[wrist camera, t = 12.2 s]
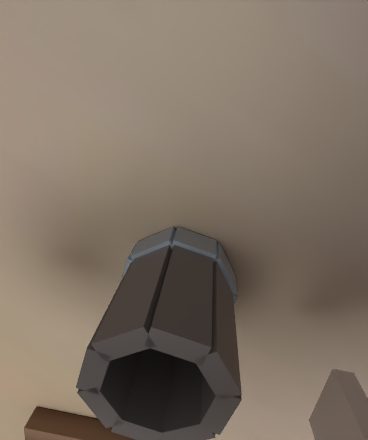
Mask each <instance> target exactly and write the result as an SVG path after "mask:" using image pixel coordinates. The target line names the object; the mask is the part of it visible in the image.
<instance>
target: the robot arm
mask: <svg viewBox="0 0 368 440" xmlns="http://www.w3.org/2000/svg"><path fill="white" fill-rule="evenodd" d="M309 422H310V425H311V428H312V431H313V434H314V437H315V440H368V398H367V397H366V395H365V393H364V391H363V389H362V387H361V385H360V383H359V382H358V380H357V378H356V376H355V374H354V373H352V372H347V371H341V370H335V369H333V370H332V372H331V374H330V376H329V378H328V380H327V382H326V385H325V387H324V389H323V391H322V393H321V395H320V397H319V400H318V402H317V404H316V406H315V408H314V410H313V413H312V415H311V417H310V419H309Z"/></svg>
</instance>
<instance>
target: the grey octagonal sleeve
mask: <svg viewBox="0 0 368 440" xmlns="http://www.w3.org/2000/svg"><path fill="white" fill-rule="evenodd" d="M236 299H237V285H236V275H235V273H234V271H233V269H232V267H231V265H230V263H229V261H228V259H227V257H226V255H225V253H224V251H223V249H222V247H221V245H220V243H217V240H215V239H212V238H209V237H206V236H203V235H201V234H198V233H195V232H192V231H189V230H186V229H184V228H181V227H177V230H175V228H174V227H171V228H169V229H166V230H164V231H162V232H159V233H157V234H155V235H152V236H150V237H147V238H145V239H143V240H140V241H138V243H137V244H136V245H135V246H134V248H133V250H132V252H131V254H130V256H129V257H128V260H127V263H126V266H125V269H124V273H123V276H122V279H121V283H120V285H119V287H118V289H117V291H116V293H115V294H114V296H113V298H112V300H111V302H110V304H109V306H108V308H107V310H106V312H105V314H104V316H103V318H102V320H101V322H100V324H99V326H98V328H97V330H96V332H95V334H94V335H93V337H92V339H91V341H90V343H89V345H88V347H87V350H86V353H85V357H84V360H83V364H82V368H81V371H80V375H79V378H78V382H77V385H76V388H78V389H79V390H78V392H77V393H78V394H79V395H80V397H81V398H82V399H83V400H84V402H85V403H86V404H87V405H88V407H89V408H90V409H91V410H92V412H93V413H94V414H95V415H96V417H97V418H98V419H99V420H100V422H101V423H102V424H103V425H104V427H105V428H109V427H112V430H111V432H114V433H117V434H120V435H123V436H126V437H129V438H132V439H135V440H207V439H211V438H215V433H216V434H219V435H220V434H221V432H222V431H223V429H224V427H225V426H226V424H227V422H228V421H229V419H230V418H231V416H232V414H233V413H234V411H235V410H236V408H237V406H238V405H239V403H240V402H241V400H242V399H241V395H242V394H241V382H240V371H239V359H238V348H237V336H236V324H235V313H234V303H235V301H236Z"/></svg>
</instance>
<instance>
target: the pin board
mask: <svg viewBox="0 0 368 440" xmlns="http://www.w3.org/2000/svg"><path fill="white" fill-rule="evenodd" d="M111 430H112V427H109V428H105V427H104V425H103V424H102V423H101V422H100V420H99V419H94V418H89V417H84V416H79V415H74V414H69V413H65V412H60V411H55V410H50V409H45V408H40V407H36V408H35V410H34V412H33V413H32V415H31V417H30V419H29V420H28V422H27V424H26V426H25V427H24V432H25V440H135V439H132V438H129V437H126V436H123V435H120V434H117V433H114V432H111Z"/></svg>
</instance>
